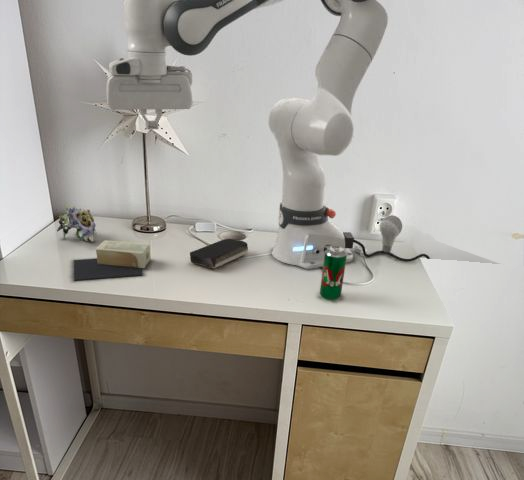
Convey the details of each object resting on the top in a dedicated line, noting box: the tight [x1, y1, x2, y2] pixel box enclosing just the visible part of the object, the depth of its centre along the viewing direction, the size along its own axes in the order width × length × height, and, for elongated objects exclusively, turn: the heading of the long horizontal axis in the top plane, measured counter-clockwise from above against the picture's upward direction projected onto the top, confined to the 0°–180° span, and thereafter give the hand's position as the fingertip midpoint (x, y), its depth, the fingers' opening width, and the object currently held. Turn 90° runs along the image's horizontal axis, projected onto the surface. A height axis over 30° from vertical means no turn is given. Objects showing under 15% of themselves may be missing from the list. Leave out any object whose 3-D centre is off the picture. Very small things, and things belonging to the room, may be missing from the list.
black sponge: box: [189, 238, 249, 269], centre depth 138 cm, size 16×8×4 cm, turn 143°
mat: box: [73, 258, 143, 282], centre depth 130 cm, size 16×12×1 cm
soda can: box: [319, 246, 347, 301], centre depth 120 cm, size 5×5×12 cm
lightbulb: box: [379, 214, 403, 253], centre depth 145 cm, size 6×6×11 cm
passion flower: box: [56, 204, 98, 243], centre depth 144 cm, size 11×11×12 cm
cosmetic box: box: [95, 239, 152, 269], centre depth 132 cm, size 6×4×12 cm
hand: (152, 129), depth 128 cm, fingers closed
